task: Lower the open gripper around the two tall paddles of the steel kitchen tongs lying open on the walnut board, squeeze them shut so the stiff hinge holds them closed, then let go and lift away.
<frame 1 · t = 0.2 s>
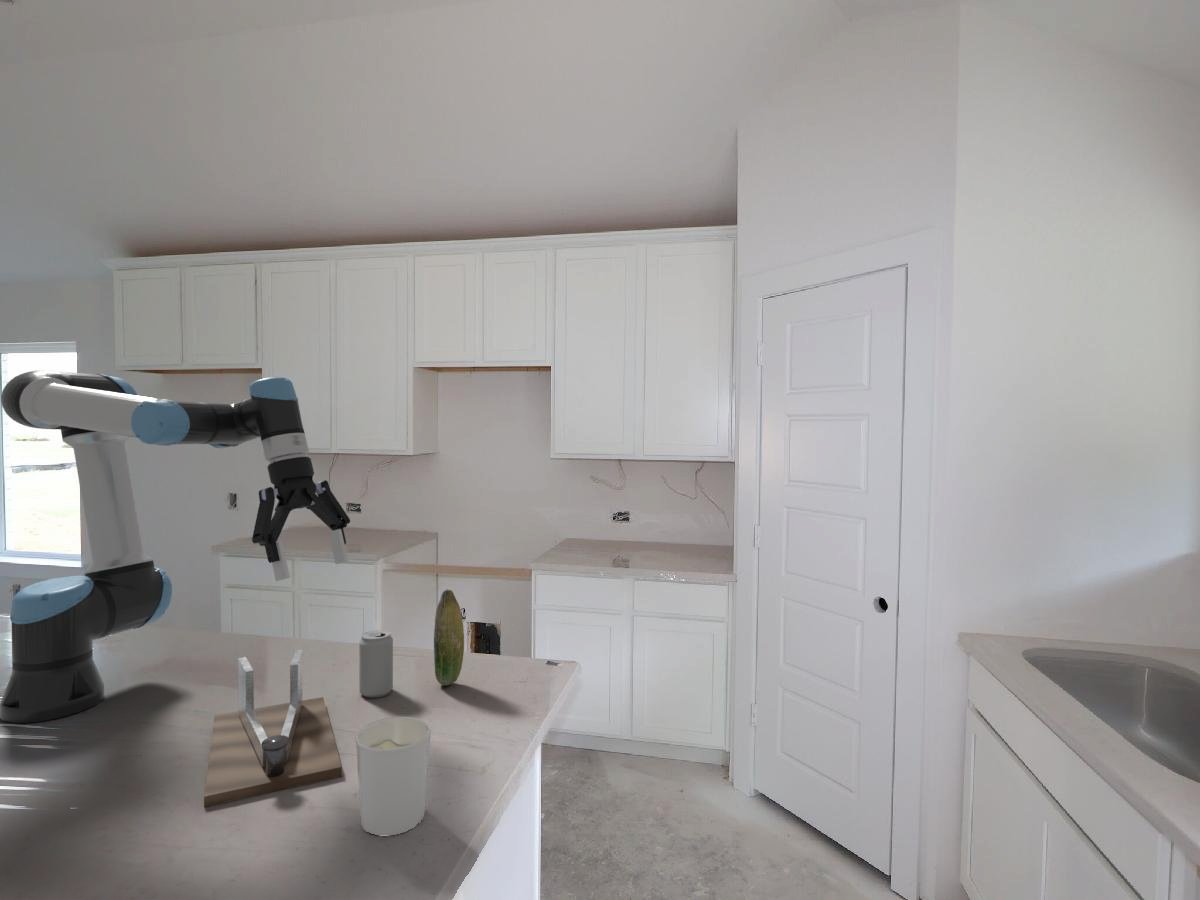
hand: (314, 571, 121), 27 cm above the worktop, tool tilted 15°, fingers open, 13 cm apart
beverage can: (376, 693, 131), on the worktop
vegetable: (448, 687, 135), on the worktop
tongs arm 2: (291, 701, 110), point 7 cm above the worktop, hinge at 9.0°
tongs hinge post: (275, 773, 97), resting on walnut board
walnut board: (272, 747, 108), on the worktop
candle holder: (393, 819, 89), on the worktop
tongs arm 1: (253, 707, 108), point 7 cm above the worktop, hinge at 9.0°
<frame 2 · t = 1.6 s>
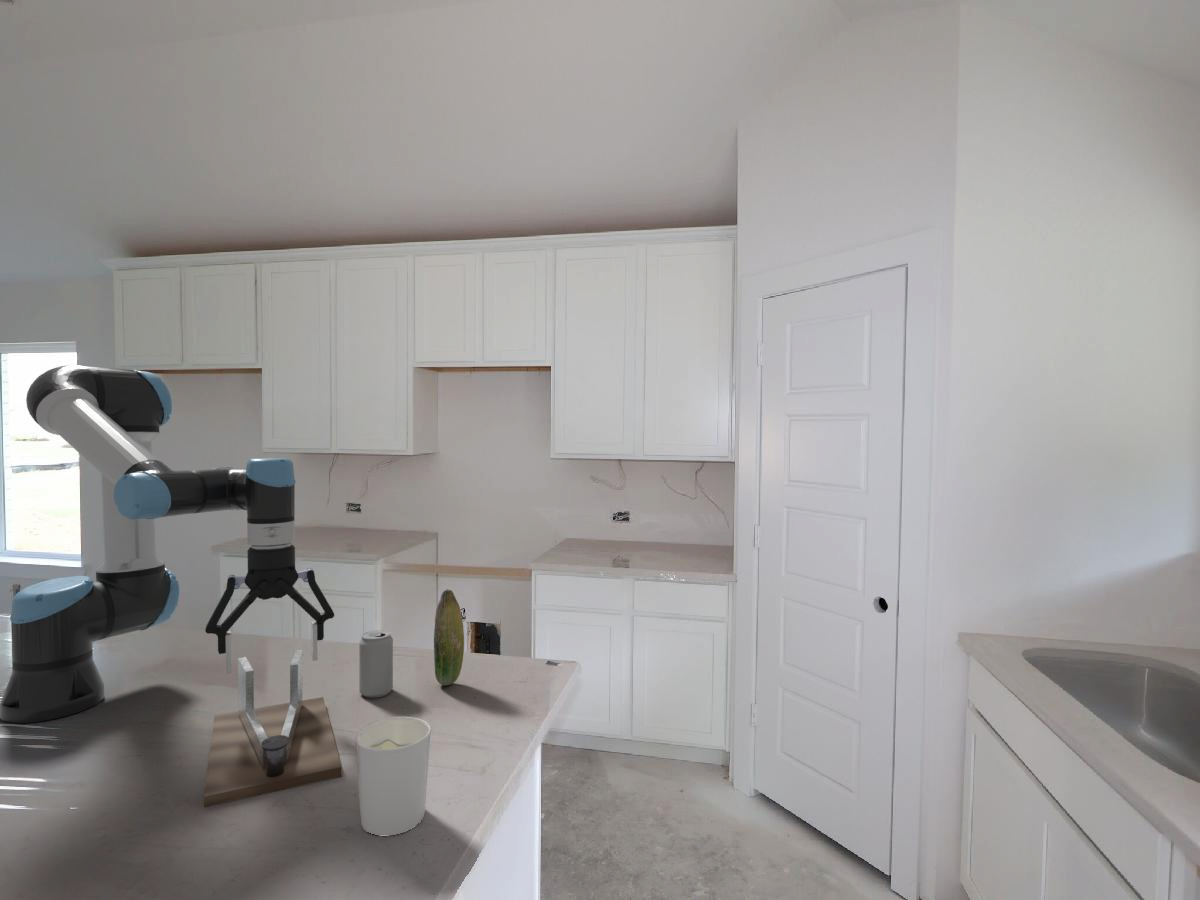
hand: (272, 664, 116), 11 cm above the worktop, tool pointing down, fingers open, 13 cm apart
nothing on the worktop moved.
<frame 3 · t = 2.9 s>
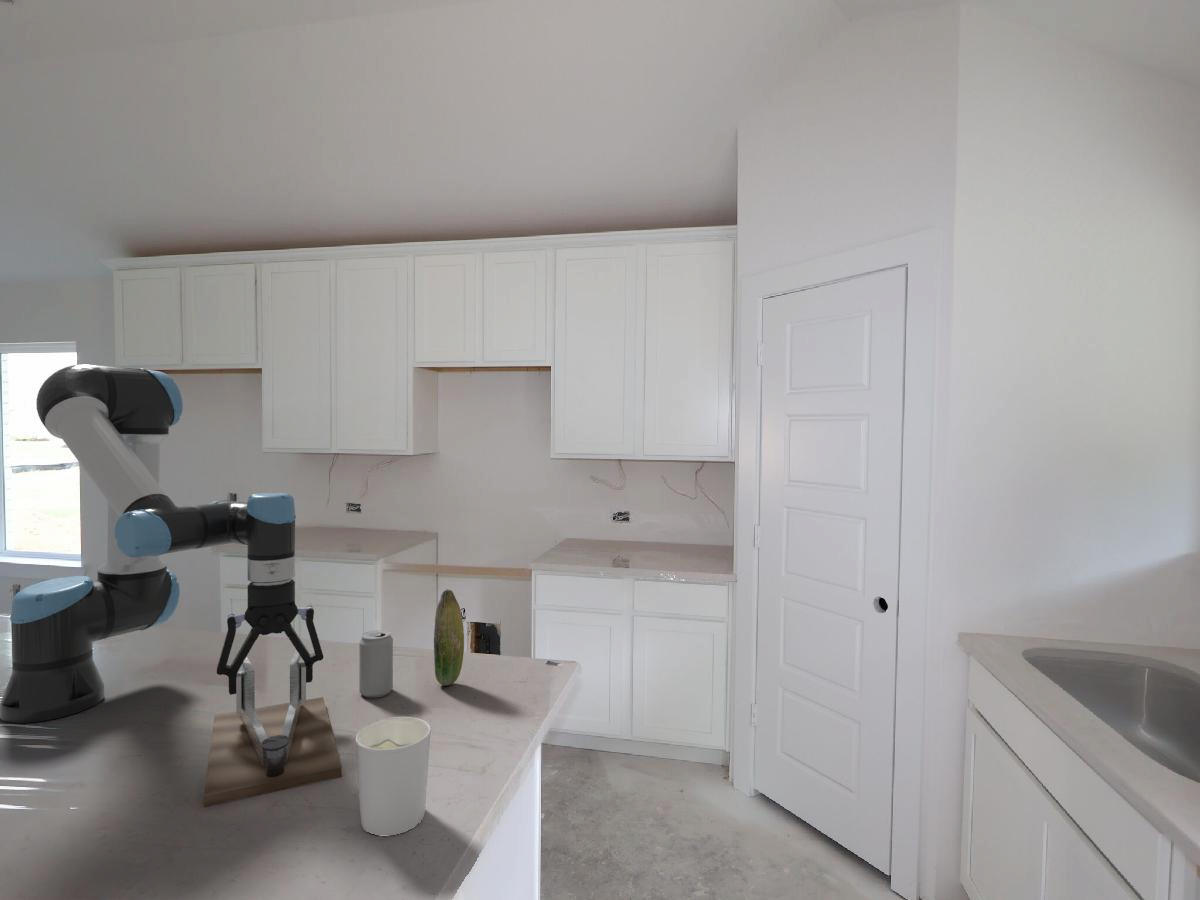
hand: (271, 705, 116), 4 cm above the worktop, tool pointing down, fingers open, 9 cm apart
tongs arm 2: (291, 701, 110), point 7 cm above the worktop, hinge at 8.8°, touching gripper
tongs arm 1: (254, 707, 108), point 7 cm above the worktop, hinge at 8.6°, touching gripper
everything else where it was.
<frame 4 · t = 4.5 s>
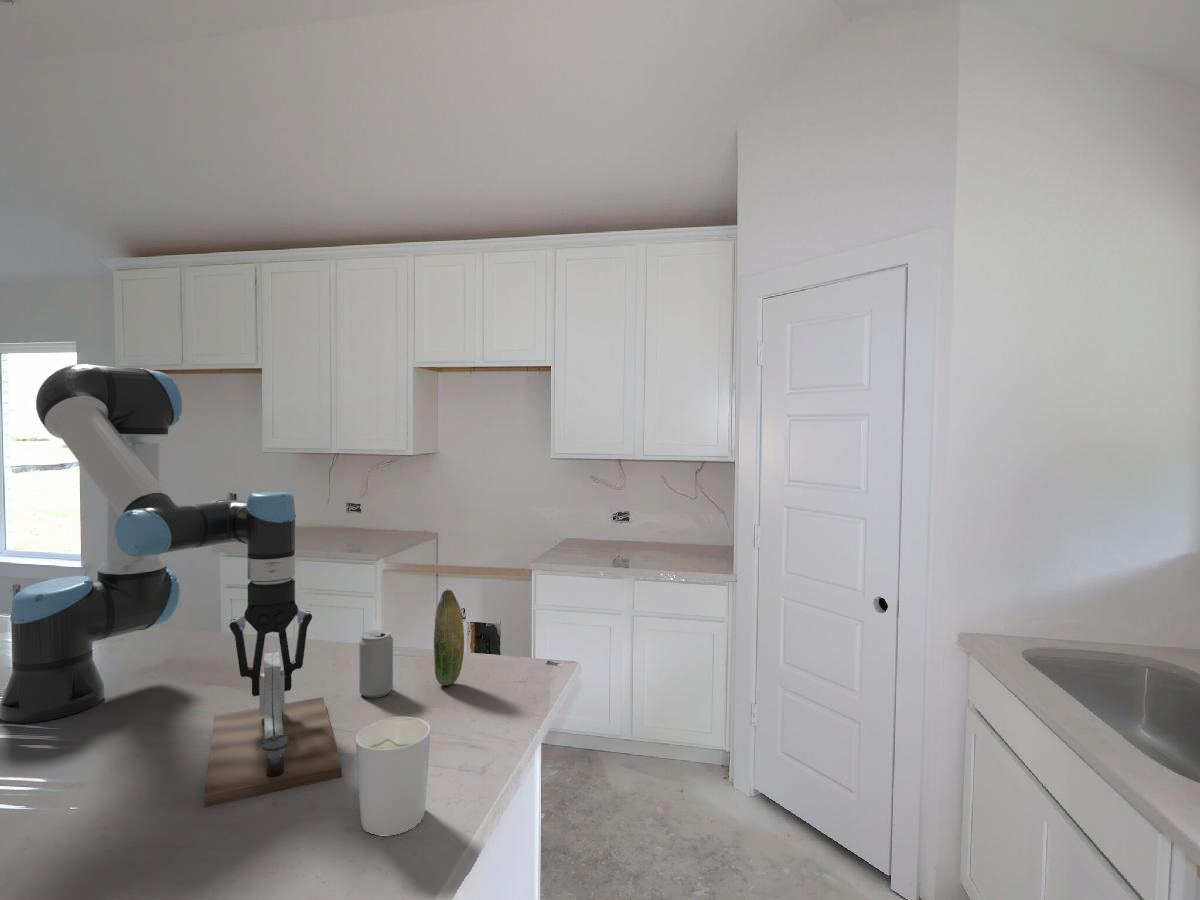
hand: (271, 710, 116), 3 cm above the worktop, tool pointing down, fingers open, 2 cm apart
tongs arm 2: (277, 702, 110), point 7 cm above the worktop, hinge at -0.2°, touching gripper, tongs arm 1
tongs arm 1: (268, 704, 109), point 7 cm above the worktop, hinge at -0.5°, touching gripper, tongs arm 2
everything else where it was.
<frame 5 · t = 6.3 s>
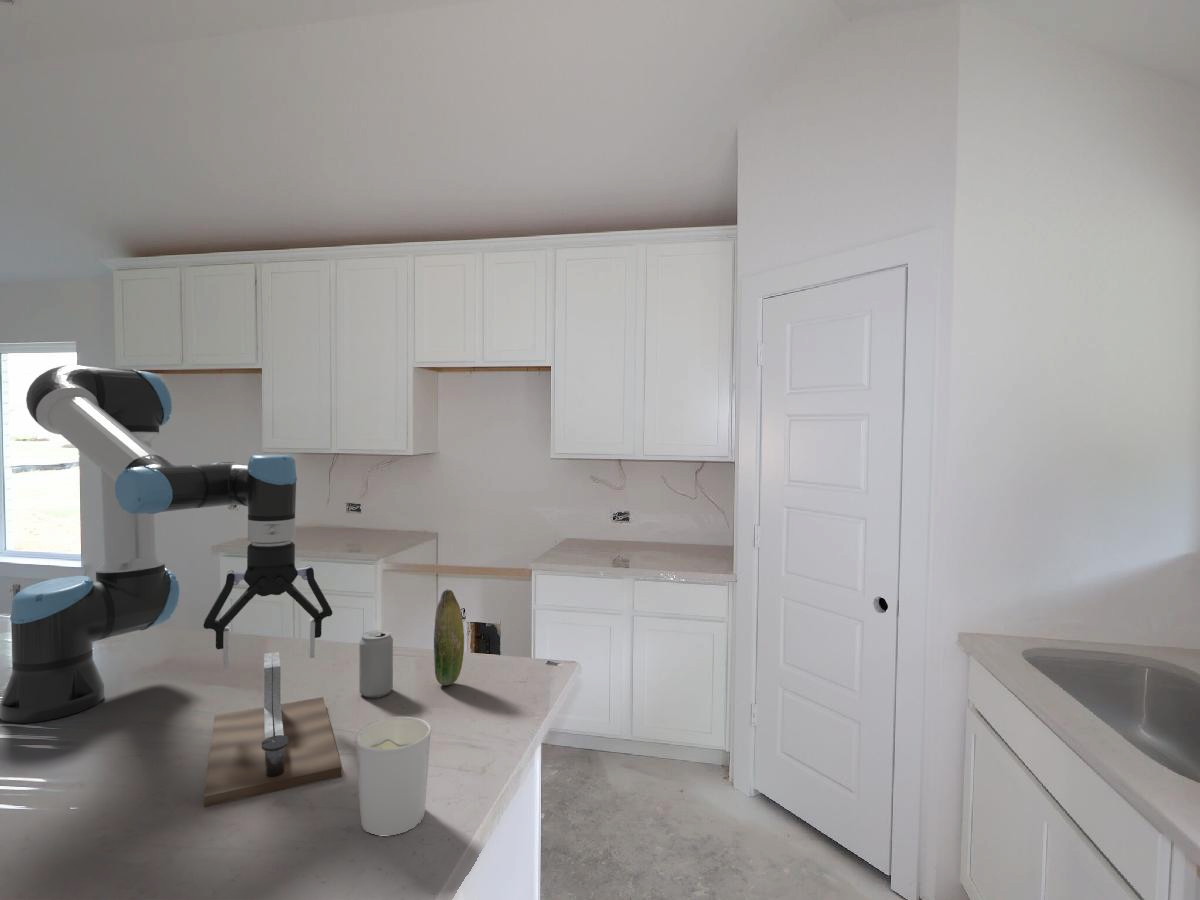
hand: (269, 660, 116), 12 cm above the worktop, tool pointing down, fingers open, 13 cm apart
tongs arm 2: (277, 702, 110), point 7 cm above the worktop, hinge at -0.2°, touching tongs arm 1
tongs arm 1: (268, 704, 109), point 7 cm above the worktop, hinge at -0.5°, touching tongs arm 2
everything else where it was.
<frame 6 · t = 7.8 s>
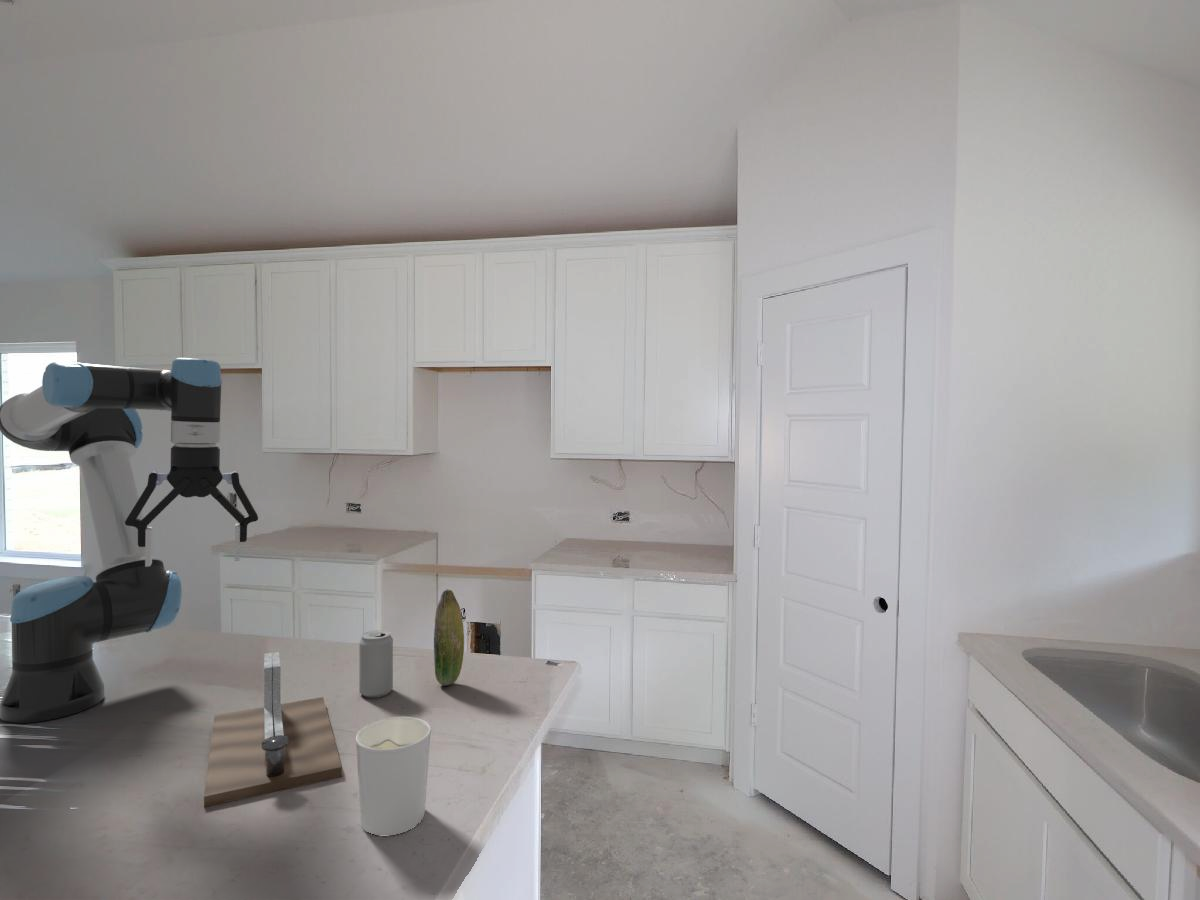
hand: (194, 562, 118), 29 cm above the worktop, tool pointing down, fingers open, 13 cm apart
nothing on the worktop moved.
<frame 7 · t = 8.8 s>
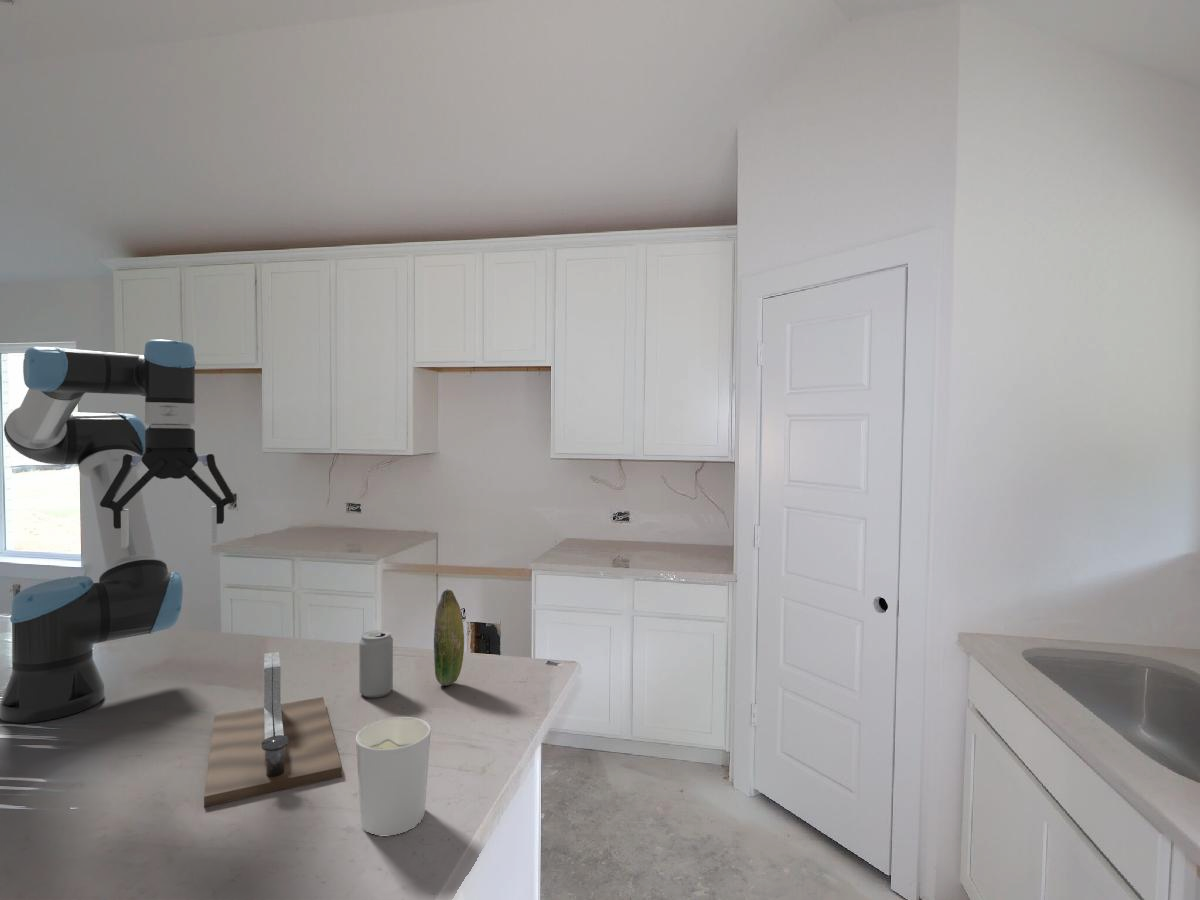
hand: (171, 544, 118), 32 cm above the worktop, tool pointing down, fingers open, 13 cm apart
nothing on the worktop moved.
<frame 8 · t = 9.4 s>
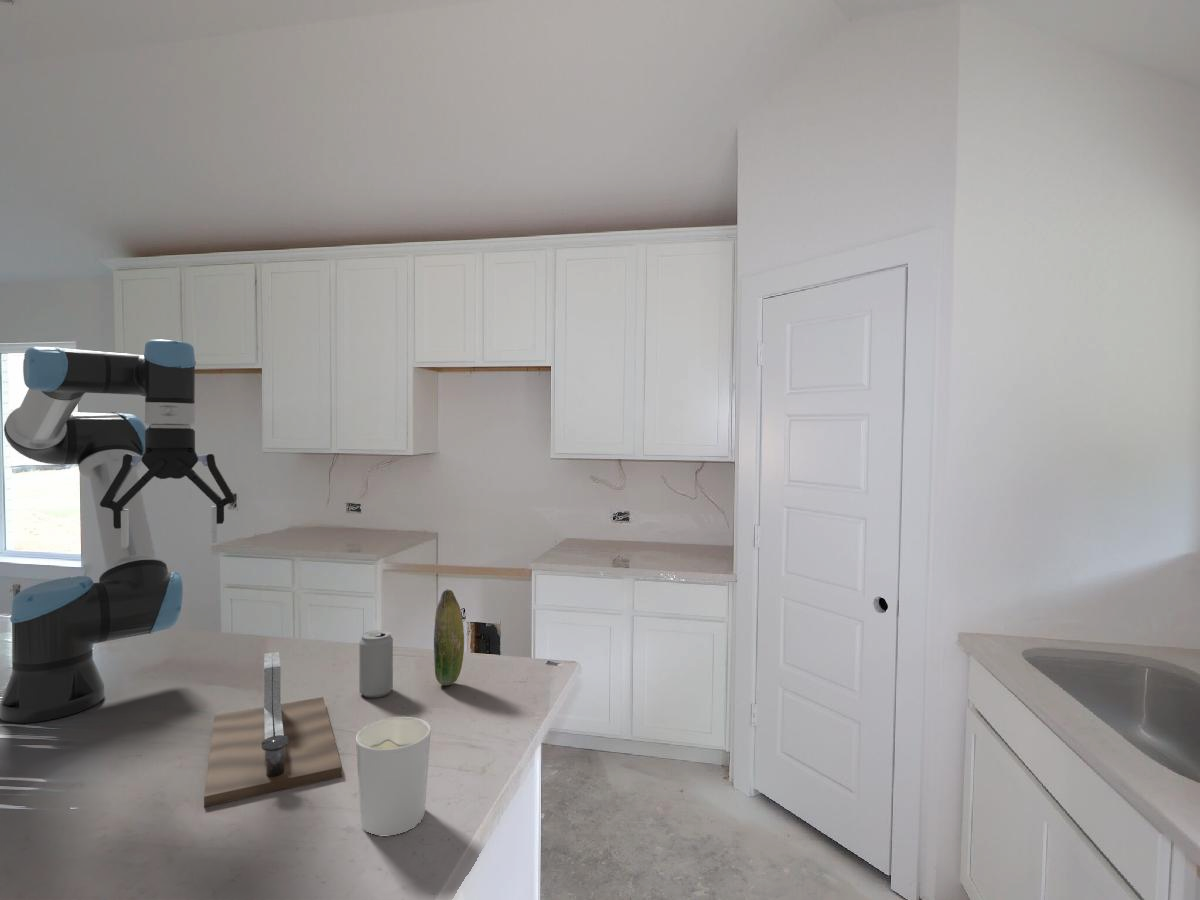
hand: (171, 544, 118), 32 cm above the worktop, tool pointing down, fingers open, 13 cm apart
nothing on the worktop moved.
at the end: tongs arm 1 at +0° (first picture: +9°); tongs arm 2 at +0° (first picture: +9°) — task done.
